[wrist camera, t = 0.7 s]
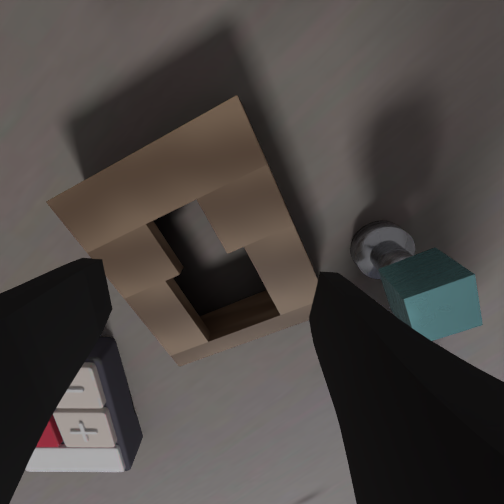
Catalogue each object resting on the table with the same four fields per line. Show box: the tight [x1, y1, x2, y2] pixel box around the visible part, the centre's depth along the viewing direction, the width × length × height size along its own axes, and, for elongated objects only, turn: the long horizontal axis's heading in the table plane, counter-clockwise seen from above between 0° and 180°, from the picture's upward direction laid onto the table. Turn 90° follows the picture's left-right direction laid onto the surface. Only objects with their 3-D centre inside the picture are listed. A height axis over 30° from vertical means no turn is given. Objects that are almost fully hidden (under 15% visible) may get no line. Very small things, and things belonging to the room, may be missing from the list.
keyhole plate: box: [46, 95, 318, 367], centre depth 18 cm, size 14×12×4 cm
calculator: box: [25, 337, 143, 472], centre depth 26 cm, size 11×4×15 cm
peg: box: [350, 221, 483, 341], centre depth 17 cm, size 4×4×8 cm
